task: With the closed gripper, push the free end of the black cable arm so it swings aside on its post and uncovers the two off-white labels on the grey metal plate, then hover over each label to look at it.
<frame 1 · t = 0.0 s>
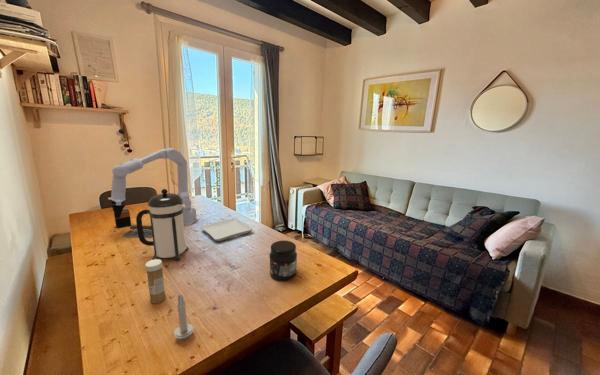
hand: (117, 215, 127), 11 cm above the table, tool pointing down, fingers open, 7 cm apart
supplement container: (283, 274, 97), on the table
coffee press: (168, 256, 109), on the table
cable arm: (144, 227, 132), point 3 cm above the table, hinge at 0.0°
salad plate: (226, 233, 135), on the table
sprinkles bottle: (158, 300, 82), on the table
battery: (123, 226, 141), on the table
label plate: (144, 232, 133), on the table
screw: (184, 337, 67), on the table
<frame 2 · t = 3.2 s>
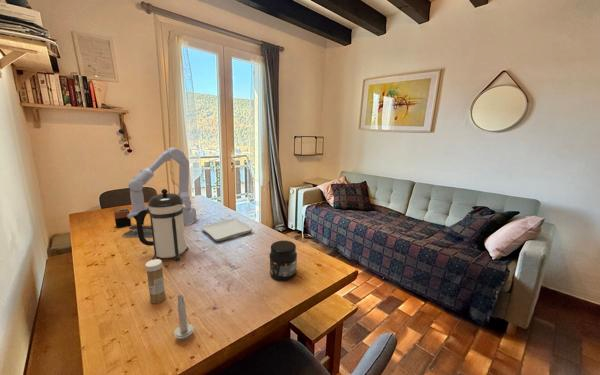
hand: (141, 226, 134), 2 cm above the table, tool pointing down, fingers closed, pressing on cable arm
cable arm: (144, 227, 132), point 3 cm above the table, hinge at 1.6°, touching gripper
everything else where it was.
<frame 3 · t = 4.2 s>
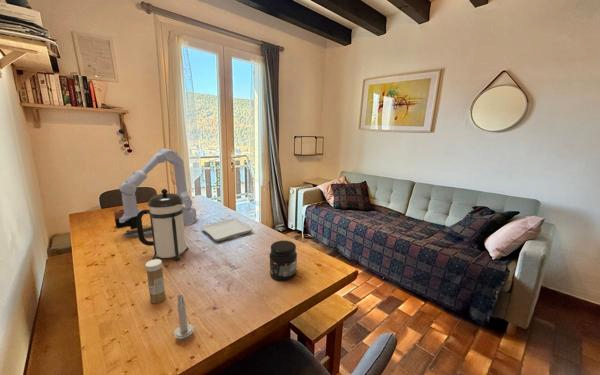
hand: (134, 230, 129), 2 cm above the table, tool pointing down, fingers closed, pressing on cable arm
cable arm: (142, 229, 129), point 3 cm above the table, hinge at 40.5°, touching gripper
everything else where it was.
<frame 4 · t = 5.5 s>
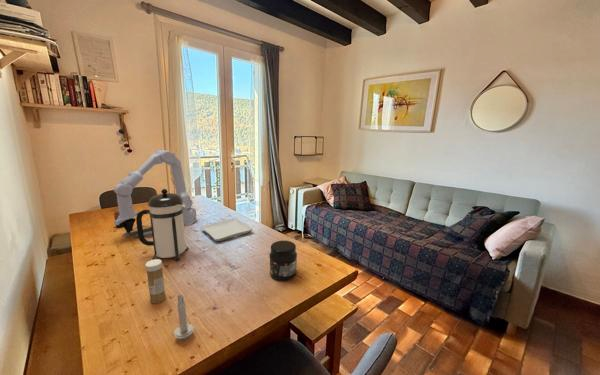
hand: (129, 233, 126), 2 cm above the table, tool pointing down, fingers closed
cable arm: (143, 230, 128), point 3 cm above the table, hinge at 53.7°, touching gripper
everything else where it was.
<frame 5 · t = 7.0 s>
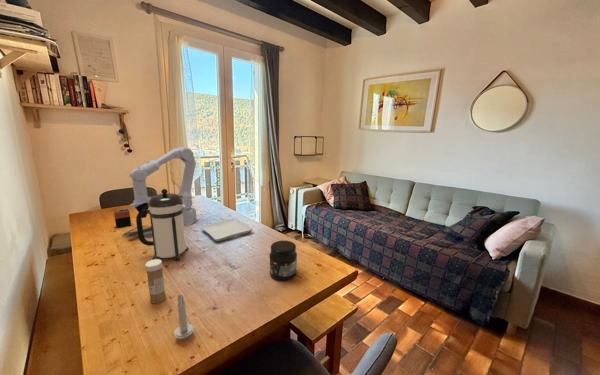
hand: (143, 217, 131), 8 cm above the table, tool pointing down, fingers closed
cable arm: (143, 230, 128), point 3 cm above the table, hinge at 54.1°
everything else where it was.
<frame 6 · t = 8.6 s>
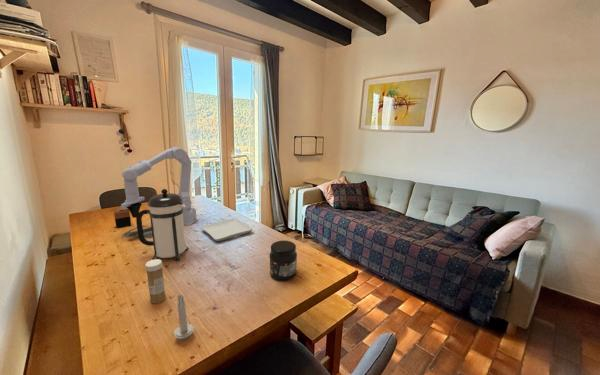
hand: (135, 217, 131), 8 cm above the table, tool pointing down, fingers closed
nothing on the table moved.
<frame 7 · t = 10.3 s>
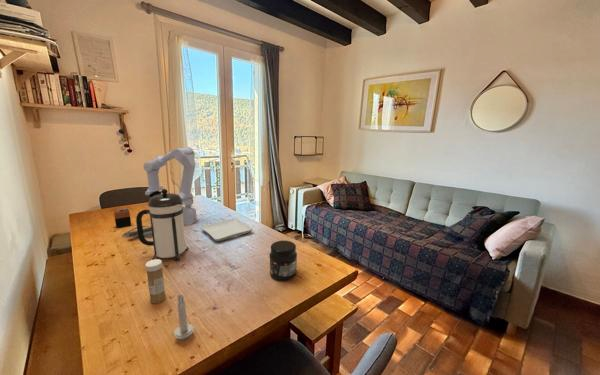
hand: (156, 203, 152), 9 cm above the table, tool pointing down, fingers closed
nothing on the table moved.
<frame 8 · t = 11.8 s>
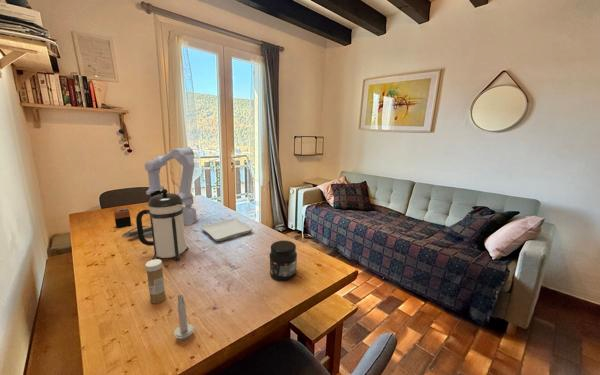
hand: (157, 203, 153), 9 cm above the table, tool pointing down, fingers closed
nothing on the table moved.
at the end: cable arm at +54° (first picture: +0°); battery moved 0.2 cm from its start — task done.
